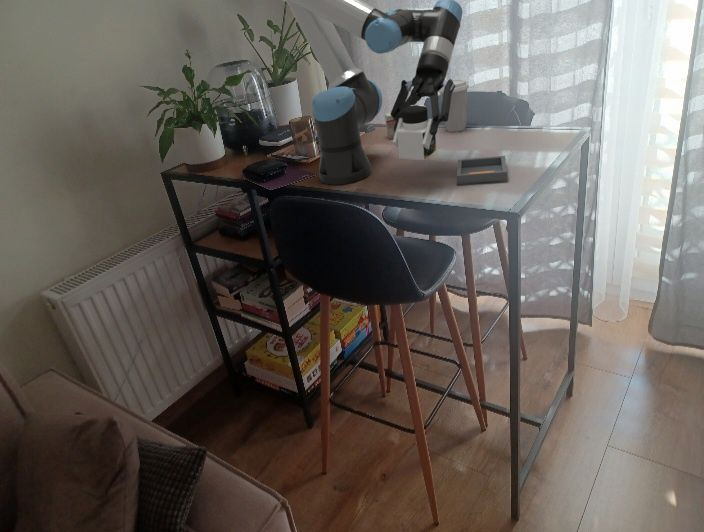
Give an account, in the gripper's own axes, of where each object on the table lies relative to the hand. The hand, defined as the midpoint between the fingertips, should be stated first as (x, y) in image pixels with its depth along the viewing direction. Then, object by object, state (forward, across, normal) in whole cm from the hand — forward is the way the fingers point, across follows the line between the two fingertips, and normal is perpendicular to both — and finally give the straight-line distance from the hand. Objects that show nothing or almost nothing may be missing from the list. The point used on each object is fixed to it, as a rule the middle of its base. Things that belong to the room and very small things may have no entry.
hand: (410, 145), depth 126 cm
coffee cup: (-28, +9, -45) cm, 53 cm away
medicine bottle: (0, 0, -5) cm, 5 cm away
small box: (-21, +28, -39) cm, 52 cm away
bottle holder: (-1, -13, -17) cm, 21 cm away
